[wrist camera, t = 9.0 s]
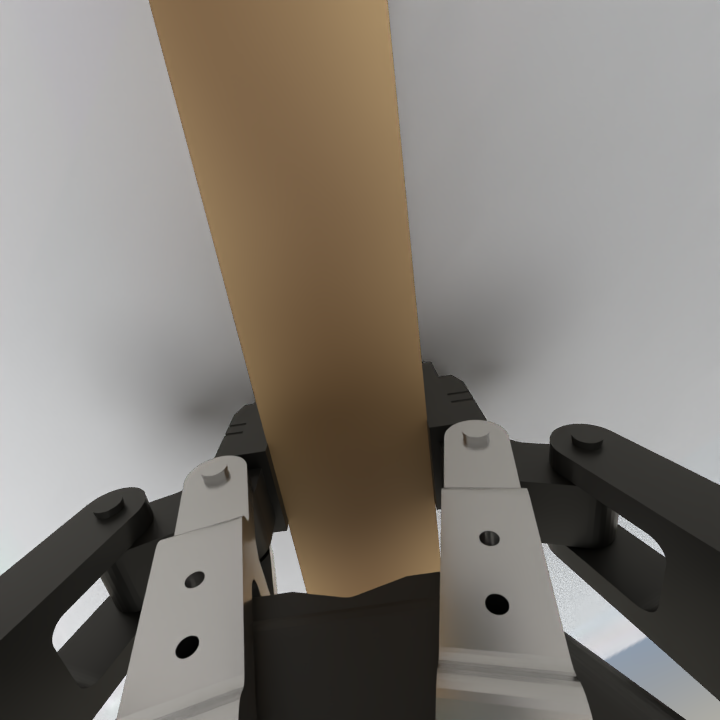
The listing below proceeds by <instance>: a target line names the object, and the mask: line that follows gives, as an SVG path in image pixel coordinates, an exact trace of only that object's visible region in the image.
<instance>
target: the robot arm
mask: <svg viewBox="0 0 720 720" xmlns="http://www.w3.org/2000/svg"><path fill="white" fill-rule="evenodd" d="M422 370H423V381H424V391H425V402H426V413H427V429H428V440H429V450H430V461H431V471H432V482H433V492H434V501H435V505H436V508H437V510H438V509H441V555H440V572H433V573H425V574H418V575H411V576H406V577H403V578H400V579H398V580H395V581H393V582H390V583H387V584H385V585H382V586H380V587H377V588H374V589H372V590H369V591H366V592H364V593H361V594H359V595H356V596H353V597H336V596H326V595H316V594H306V593H297V592H289V593H282V594H277V584H276V574H275V565H274V555H273V551H272V548H271V539H272V534H273V532H280V531H287V528H288V518H287V514H286V510H285V506H284V503H283V499H282V495H281V491H280V488H279V484H278V480H277V476H276V473H275V469H274V465H273V461H272V458H271V454H270V450H269V447H268V443H267V441H266V437H265V434H264V430H263V426H262V422H261V419H260V415H259V411H258V408H257V404H256V400H255V403H254V404H250V405H245V406H244V407H243V408H242V409H240V410H239V411H238V412H237V413H236V414H235V415H234V417H233V419H232V421H231V423H230V425H229V426H230V427H228V430H227V432H226V436H224V438H223V440H222V443H221V445H220V447H219V449H218V451H217V453H216V456H215V458H213V459H211V460H208V461H206V462H204V463H202V464H200V465H199V466H197V467H196V468H194V469H193V470H192V471H191V472H190V473H189V474H188V475H187V477H186V479H185V481H184V485H183V491H181V492H178V493H175V494H173V495H170V496H167V497H164V498H161V499H158V500H155V501H153V502H150V503H149V502H148V499H147V497H146V495H145V492H144V491H143V490H142V489H140V488H135V487H129V488H122V489H118V490H115V491H112V492H109V493H107V494H105V495H103V496H101V497H99V498H97V499H95V500H94V501H92V502H91V503H90V504H88V505H87V506H86V507H84V508H83V509H82V510H81V511H80V512H78V513H77V514H76V515H75V516H73V517H72V518H71V519H70V520H68V521H67V522H66V523H65V524H64V525H62V526H61V527H60V528H59V529H57V530H56V531H55V532H54V533H52V534H51V535H50V536H49V537H48V538H46V539H45V540H44V541H43V542H41V543H40V544H39V545H38V546H37V547H35V548H34V549H33V550H32V551H30V552H29V553H28V554H27V555H25V556H24V557H23V558H22V559H21V560H19V561H18V562H17V563H16V564H14V565H13V566H12V567H11V568H9V569H8V570H7V571H6V572H5V573H3V574H2V575H1V576H0V720H93V718H94V717H95V716H96V714H97V713H98V712H99V710H100V709H101V708H102V706H103V705H104V704H105V702H106V701H107V700H108V698H109V697H110V696H111V694H112V693H113V692H114V690H115V689H116V688H117V686H118V685H119V684H120V682H121V681H122V680H123V678H124V677H125V676H126V674H127V676H126V680H125V684H124V689H123V693H122V697H121V702H120V706H119V710H118V715H117V719H116V720H686V719H684V718H683V717H682V716H680V715H679V714H677V713H676V712H675V711H673V710H672V709H670V708H669V707H667V706H666V705H665V704H664V703H662V702H661V701H659V700H658V699H657V698H655V697H654V696H652V695H651V694H650V693H648V692H647V691H646V690H644V689H643V688H641V687H640V686H639V685H637V684H636V683H635V682H633V681H632V680H630V679H629V678H628V677H626V676H625V675H623V674H622V673H621V672H619V671H618V670H617V669H615V668H614V667H612V666H611V665H610V664H608V663H607V662H606V661H604V660H603V659H601V658H600V657H599V656H597V655H596V654H594V653H593V652H592V651H590V650H589V649H588V648H586V647H585V646H583V645H582V644H581V643H579V642H578V641H576V640H575V639H574V638H572V637H571V636H570V635H568V634H567V633H565V632H564V631H563V627H562V623H561V619H560V615H559V611H558V607H557V603H556V599H555V595H554V591H553V587H552V583H551V579H550V575H549V571H548V567H547V563H546V559H545V555H544V551H543V547H542V544H541V543H547V544H548V546H549V548H550V549H551V550H552V552H553V553H554V554H555V555H556V556H557V557H558V558H559V559H561V560H562V561H563V562H564V563H565V564H566V565H567V566H568V567H570V568H571V569H572V570H573V571H574V572H575V573H576V574H577V575H579V576H580V577H581V578H582V579H583V580H584V581H585V582H586V583H588V584H589V585H590V586H591V587H592V588H593V589H594V590H595V591H597V592H598V593H599V594H600V595H601V596H602V597H603V598H604V599H606V600H607V601H608V602H609V603H610V604H611V605H612V606H613V607H615V608H616V609H617V610H618V611H619V612H620V613H621V614H622V615H624V616H625V617H626V618H627V619H628V620H629V621H630V622H631V623H633V624H634V625H635V626H636V627H637V628H638V629H639V630H640V631H642V632H643V633H644V634H645V635H646V636H647V637H648V638H649V639H651V640H652V641H653V642H654V643H655V644H656V645H657V646H658V647H659V648H661V649H662V650H663V651H664V652H665V653H667V655H668V656H670V657H671V658H672V659H673V660H674V661H675V662H676V663H677V664H679V665H680V666H681V667H682V668H683V669H684V670H685V671H686V672H688V673H689V674H690V675H691V676H692V677H693V678H694V679H696V680H697V681H698V682H699V683H700V684H701V685H702V686H703V687H704V688H706V689H707V690H708V691H709V692H710V693H711V694H712V695H714V696H715V697H716V698H717V699H718V700H719V701H720V485H718V484H716V483H714V482H712V481H710V480H708V479H706V478H704V477H702V476H700V475H698V474H696V473H694V472H692V471H690V470H688V469H686V468H684V467H682V466H680V465H678V464H676V463H674V462H672V461H670V460H668V459H666V458H664V457H662V456H660V455H658V454H656V453H654V452H652V451H650V450H648V449H646V448H644V447H642V446H640V445H638V444H636V443H634V442H632V441H630V440H628V439H626V438H624V437H622V436H620V435H618V434H616V433H614V432H612V431H610V430H608V429H605V428H602V427H599V426H594V425H588V424H570V425H565V426H562V427H559V428H557V429H556V430H554V431H553V432H552V434H551V436H550V444H535V443H522V442H516V441H513V440H510V439H509V435H508V433H507V431H506V430H505V429H504V428H503V427H501V426H499V425H497V424H495V423H492V422H489V421H487V420H486V418H485V416H484V415H483V413H482V412H481V410H480V408H479V407H478V405H477V403H476V402H475V400H473V397H472V395H471V394H470V392H469V390H468V389H467V387H466V386H465V384H464V382H463V381H461V380H459V379H457V378H456V377H454V376H452V375H448V376H441V377H438V375H437V373H436V371H435V369H434V367H433V365H432V363H431V362H426V363H422ZM619 515H621V516H622V517H624V518H625V519H627V520H628V521H630V522H631V523H632V524H634V525H635V526H637V527H638V528H640V529H641V530H643V531H644V532H646V533H647V534H649V535H650V536H651V537H652V538H653V539H654V540H655V541H656V542H657V543H658V544H659V546H660V547H661V549H662V550H663V552H664V555H665V557H664V556H662V555H661V554H660V553H658V552H657V551H655V550H654V549H652V548H651V547H650V546H648V545H647V544H645V543H644V542H642V541H641V540H640V539H638V538H637V537H635V536H634V535H632V534H631V533H630V532H628V531H627V530H625V529H624V528H622V527H621V526H620V525H618V516H619ZM100 577H101V579H102V581H103V583H104V585H105V587H106V589H107V591H108V593H109V595H110V596H109V597H108V598H107V599H106V600H105V601H104V602H103V603H102V604H101V605H100V606H99V608H98V609H97V610H96V611H95V612H94V613H93V614H92V615H91V616H90V617H89V618H88V619H87V621H86V622H85V623H84V624H83V625H82V626H81V627H80V628H79V629H78V630H77V631H76V632H75V633H74V635H73V636H72V637H71V638H70V639H69V640H68V641H67V642H66V643H65V644H64V645H63V646H62V648H61V649H60V650H59V651H58V652H56V650H55V648H54V647H53V643H52V636H53V632H54V629H55V626H56V624H57V623H58V621H59V619H60V618H61V617H62V616H63V614H64V613H65V612H66V611H67V610H68V609H69V608H70V607H71V606H72V605H73V604H74V603H75V602H76V601H77V600H78V599H79V598H80V597H81V596H82V595H83V594H84V593H85V592H86V591H87V590H88V589H89V588H90V587H91V586H92V585H93V584H94V583H95V582H96V581H97V580H98V579H99V578H100Z"/></svg>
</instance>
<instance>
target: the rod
mask: <svg viewBox="0 0 720 720" xmlns="http://www.w3.org/2000/svg"><path fill="white" fill-rule="evenodd" d="M149 3H150V7H151V11H152V14H153V18H154V22H155V26H156V29H157V33H158V37H159V41H160V44H161V48H162V52H163V56H164V59H165V63H166V67H167V71H168V74H169V78H170V82H171V85H172V89H173V93H174V97H175V100H176V104H177V108H178V112H179V115H180V119H181V123H182V127H183V130H184V134H185V138H186V142H187V145H188V149H189V153H190V157H191V160H192V164H193V168H194V172H195V175H196V179H197V183H198V187H199V190H200V194H201V198H202V202H203V205H204V209H205V213H206V217H207V220H208V224H209V228H210V232H211V235H212V239H213V243H214V246H215V250H216V254H217V258H218V261H219V265H220V269H221V273H222V276H223V280H224V284H225V288H226V291H227V295H228V299H229V303H230V306H231V310H232V314H233V318H234V321H235V325H236V329H237V333H238V336H239V340H240V344H241V348H242V351H243V355H244V359H245V363H246V366H247V370H248V374H249V378H250V381H251V385H252V389H253V393H254V396H255V400H256V404H257V408H258V411H259V415H260V419H261V422H262V426H263V430H264V434H265V437H266V441H267V443H268V447H269V450H270V454H271V458H272V461H273V465H274V469H275V473H276V476H277V480H278V484H279V488H280V491H281V495H282V499H283V503H284V506H285V510H286V514H287V518H288V524H289V527H290V531H291V535H292V539H293V542H294V546H295V550H296V554H297V557H298V561H299V565H300V569H301V572H302V576H303V580H304V583H305V587H306V591H307V594H316V595H326V596H336V597H353V596H356V595H359V594H361V593H364V592H366V591H369V590H372V589H374V588H377V587H380V586H382V585H385V584H387V583H390V582H393V581H395V580H398V579H400V578H403V577H406V576H411V575H418V574H425V573H433V572H440V550H439V539H438V529H437V518H436V508H435V501H434V492H433V482H432V471H431V461H430V450H429V440H428V429H427V413H426V402H425V391H424V381H423V370H422V360H421V349H420V339H419V328H418V317H417V307H416V296H415V286H414V275H413V265H412V254H411V244H410V233H409V222H408V212H407V201H406V191H405V180H404V170H403V159H402V148H401V138H400V127H399V117H398V106H397V96H396V85H395V75H394V64H393V53H392V43H391V32H390V22H389V11H388V1H387V0H149Z"/></svg>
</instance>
